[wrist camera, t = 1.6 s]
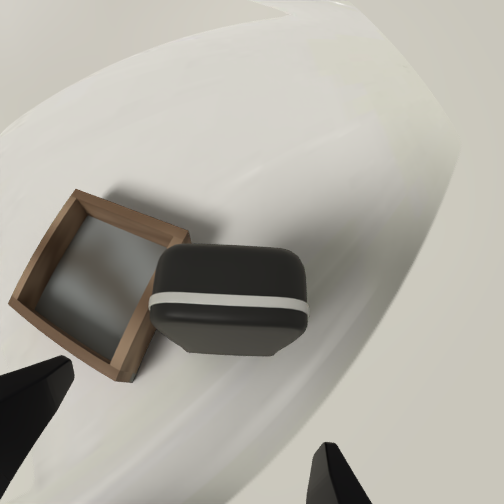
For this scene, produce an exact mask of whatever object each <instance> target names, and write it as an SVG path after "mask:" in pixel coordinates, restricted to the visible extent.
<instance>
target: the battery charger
mask: <svg viewBox="0 0 504 504" xmlns="http://www.w3.org/2000/svg"><path fill="white" fill-rule="evenodd" d="M148 308H149V311H150V321H151V323H152V325H153V326H154V327H155V328H156V329H157V330H158V331H160V332H161V333H162V334H163V335H165V336H166V337H167V338H168V339H170V340H171V341H173V342H174V343H176V344H177V345H179V346H181V347H182V348H183V349H184V350H185V351H186V352H190V353H202V354H217V355H238V356H273V355H274V354H275V353H276V352H278V351H279V350H281V349H282V348H284V347H286V346H287V345H289V344H291V343H292V342H293V341H295V340H296V339H297V338H299V337H300V336H301V335H302V334H303V333H304V332H305V330H306V328H307V323H308V318H309V315H310V314H309V305H308V304H307V291H306V275H305V269H304V266H303V264H302V262H301V261H300V259H299V257H298V256H297V255H295V254H294V253H292V252H291V251H289V250H286V249H282V248H273V247H257V246H240V245H218V244H176V245H173V246H171V247H170V248H168V249H166V250H165V251H164V252H163V253H162V255H161V256H160V258H159V260H158V263H157V267H156V271H155V277H154V284H153V291H152V296H151V297H150V299H149V306H148Z"/></svg>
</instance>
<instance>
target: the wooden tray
mask: <svg viewBox="0 0 504 504" xmlns="http://www.w3.org/2000/svg"><path fill="white" fill-rule="evenodd" d="M176 244H192V243H191V239H190V235H189V231H188V230H185V229H182V228H180V227H177V226H174V225H172V224H169V223H166V222H163V221H161V220H158V219H155V218H153V217H150V216H147V215H145V214H142V213H139V212H137V211H134V210H131V209H129V208H126V207H123V206H120V205H118V204H115V203H112V202H110V201H107V200H104V199H102V198H99V197H96V196H94V195H91V194H88V193H86V192H83V191H80V190H78V189H75V191H74V192H73V193H72V195H71V196H70V198H69V199H68V200H67V202H66V203H65V205H64V206H63V208H62V209H61V211H60V212H59V214H58V215H57V217H56V218H55V220H54V221H53V223H52V224H51V226H50V227H49V229H48V231H47V232H46V234H45V235H44V237H43V239H42V240H41V242H40V244H39V245H38V247H37V249H36V250H35V252H34V254H33V256H32V257H31V259H30V261H29V263H28V265H27V267H26V268H25V270H24V272H23V274H22V276H21V278H20V280H19V282H18V284H17V286H16V288H15V290H14V292H13V294H12V296H11V298H10V300H9V303H8V304H9V305H10V306H11V307H12V308H13V309H14V310H15V311H17V312H18V313H19V314H20V315H21V316H22V317H24V318H25V319H26V320H27V321H28V322H30V323H31V324H32V325H33V326H35V327H36V328H37V329H38V330H40V331H41V332H42V333H44V334H45V335H46V336H48V337H49V338H50V339H52V340H53V341H54V342H56V343H57V344H58V345H60V346H61V347H63V348H64V349H65V350H67V351H68V352H70V353H71V354H73V355H74V356H76V357H77V358H79V359H80V360H82V361H83V362H85V363H86V364H88V365H89V366H91V367H92V368H94V369H96V370H97V371H99V372H100V373H102V374H104V375H105V376H107V377H109V378H110V379H112V380H114V381H118V382H128V383H132V382H133V380H134V377H135V375H136V373H137V371H138V368H139V366H140V364H141V361H142V359H143V357H144V355H145V353H146V350H147V348H148V346H149V344H150V341H151V339H152V337H153V335H154V333H155V331H156V328H155V327H154V326H153V325H152V323H151V321H150V311H149V308H148V306H149V299H150V297H151V296H152V291H153V284H154V277H155V271H156V267H157V263H158V260H159V258H160V256H161V255H162V253H163V252H164V251H165V250H166V249H168V248H170V247H171V246H173V245H176Z"/></svg>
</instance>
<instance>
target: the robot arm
mask: <svg viewBox="0 0 504 504" xmlns="http://www.w3.org/2000/svg"><path fill="white" fill-rule="evenodd" d="M74 376H75V375H74V370H73V365H72V361H71V360H70V359H69V358H67V357H65V356H63V355H61V356H57V357H54V358H52V359H49V360H46V361H43V362H40V363H37V364H34V365H31V366H28V367H25V368H22V369H19V370H16V371H13V372H10V373H7V374H3V375H0V499H1V498H2V496H3V494H4V492H5V491H6V489H7V487H8V485H9V484H10V481H11V480H12V479H13V477H14V475H15V474H16V472H17V470H18V469H19V467H20V466H21V464H22V462H23V461H24V459H25V458H26V456H27V455H28V453H29V452H30V450H31V448H32V447H33V445H34V444H35V442H36V441H37V439H38V438H39V436H40V435H41V433H42V432H43V430H44V429H45V427H46V426H47V425H48V423H49V422H50V420H51V419H52V417H53V416H54V414H55V413H56V411H57V410H58V408H59V406H60V404H61V403H62V401H63V399H64V397H65V395H66V393H67V391H68V390H69V388H70V386H71V384H72V382H73V380H74ZM306 504H372V503H371V501H370V500H369V498H368V496H367V495H366V493H365V491H364V490H363V488H362V486H361V485H360V483H359V482H358V480H357V478H356V476H355V475H354V473H353V471H352V470H351V468H350V466H349V465H348V463H347V461H346V459H345V458H344V456H343V454H342V453H341V451H340V449H339V448H338V446H337V445H336V444H335V443H331V442H324V443H323V444H322V445H321V446H320V447H319V449H318V450H317V451H316V453H315V454H314V456H313V461H312V467H311V473H310V479H309V485H308V490H307V499H306Z"/></svg>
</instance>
